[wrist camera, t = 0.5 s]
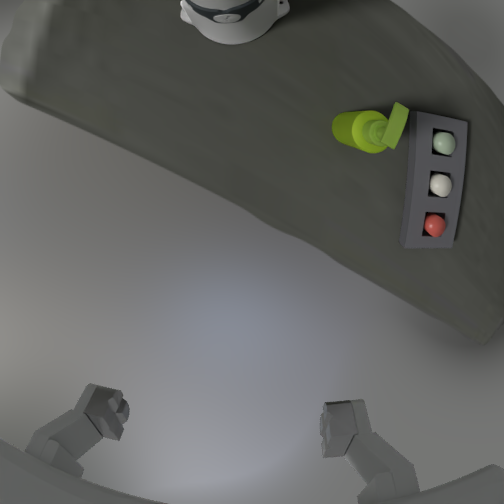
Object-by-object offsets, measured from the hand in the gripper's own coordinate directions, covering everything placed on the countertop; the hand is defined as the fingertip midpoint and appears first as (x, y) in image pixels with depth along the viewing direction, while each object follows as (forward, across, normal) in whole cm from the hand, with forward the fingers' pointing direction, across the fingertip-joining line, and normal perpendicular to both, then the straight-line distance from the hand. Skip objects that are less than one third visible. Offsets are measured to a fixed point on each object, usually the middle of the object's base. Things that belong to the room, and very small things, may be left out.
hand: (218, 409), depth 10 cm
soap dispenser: (+46, -16, -10) cm, 49 cm away
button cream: (+44, -34, -1) cm, 55 cm away
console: (+45, -34, -1) cm, 57 cm away
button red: (+44, -34, +7) cm, 56 cm away
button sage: (+44, -34, -9) cm, 56 cm away
